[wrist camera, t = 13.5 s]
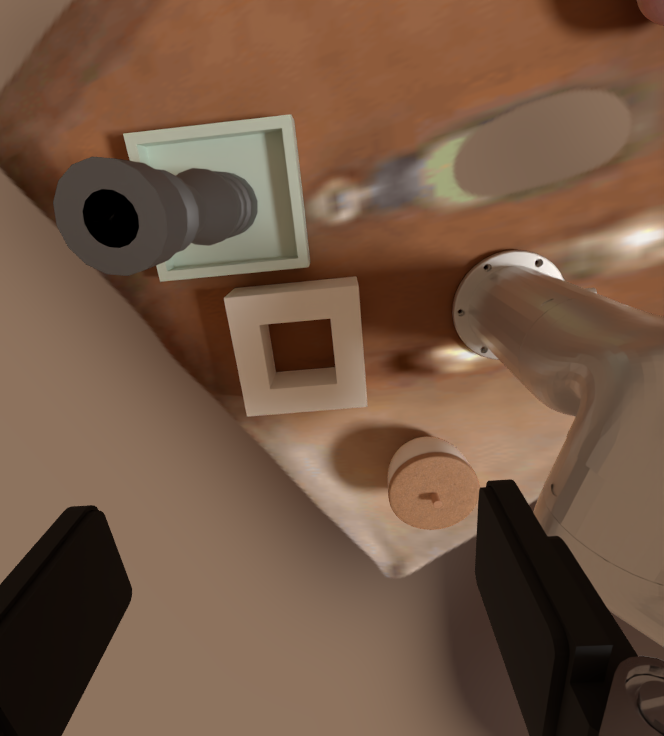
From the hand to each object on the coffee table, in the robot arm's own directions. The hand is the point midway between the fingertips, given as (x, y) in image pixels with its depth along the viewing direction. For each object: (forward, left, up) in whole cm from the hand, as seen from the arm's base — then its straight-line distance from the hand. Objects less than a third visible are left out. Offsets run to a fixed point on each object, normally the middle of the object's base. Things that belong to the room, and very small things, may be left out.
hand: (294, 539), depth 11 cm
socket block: (+4, +8, -40) cm, 41 cm away
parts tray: (+10, -8, -40) cm, 42 cm away
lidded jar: (-10, +26, -40) cm, 49 cm away
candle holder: (+10, -8, -40) cm, 41 cm away
